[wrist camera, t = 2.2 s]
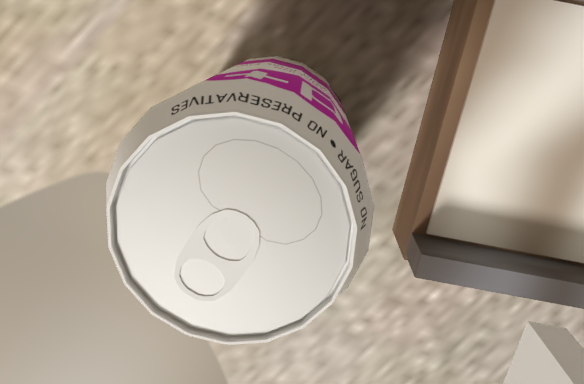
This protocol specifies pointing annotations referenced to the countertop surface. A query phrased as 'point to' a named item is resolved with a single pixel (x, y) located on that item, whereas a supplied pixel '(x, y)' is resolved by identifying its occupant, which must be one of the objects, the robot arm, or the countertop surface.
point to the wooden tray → (502, 154)
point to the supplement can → (241, 204)
